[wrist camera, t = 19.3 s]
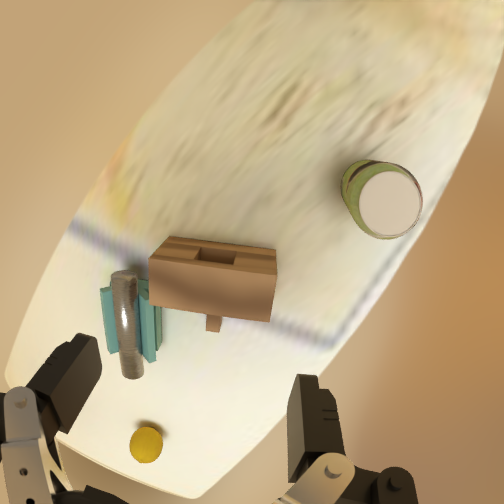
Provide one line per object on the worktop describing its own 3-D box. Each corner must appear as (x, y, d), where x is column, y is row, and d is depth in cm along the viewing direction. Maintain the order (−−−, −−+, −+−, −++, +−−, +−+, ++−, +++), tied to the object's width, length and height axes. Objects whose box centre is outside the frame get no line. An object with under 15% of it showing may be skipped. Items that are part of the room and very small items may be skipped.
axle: (117, 268, 34) (106, 279, 31) (141, 272, 34) (131, 283, 31) (126, 362, 39) (118, 376, 36) (146, 367, 39) (139, 381, 36)
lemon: (166, 440, 48) (155, 474, 41) (137, 431, 48) (124, 463, 41) (168, 424, 47) (157, 459, 39) (137, 414, 46) (123, 448, 39)
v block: (113, 274, 37) (97, 291, 33) (163, 283, 37) (151, 301, 33) (119, 333, 40) (105, 352, 36) (164, 342, 40) (154, 364, 36)
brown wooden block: (169, 236, 35) (148, 258, 29) (275, 249, 35) (277, 275, 29) (168, 315, 39) (151, 347, 32) (262, 329, 39) (261, 365, 32)
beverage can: (387, 215, 33) (437, 252, 22) (324, 211, 33) (352, 247, 22) (393, 160, 31) (449, 173, 20) (328, 152, 31) (361, 160, 20)
